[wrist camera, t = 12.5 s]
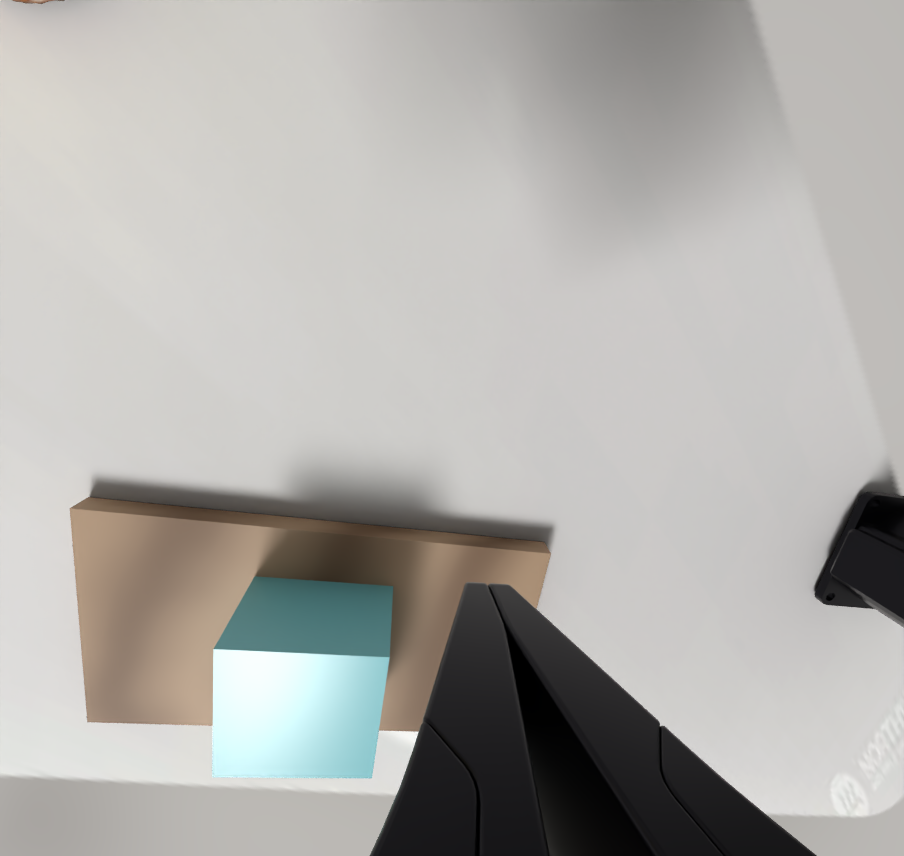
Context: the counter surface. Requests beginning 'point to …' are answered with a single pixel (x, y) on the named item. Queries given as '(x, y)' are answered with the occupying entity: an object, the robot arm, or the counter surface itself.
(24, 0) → the sauce bottle
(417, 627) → the post base
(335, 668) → the teal block
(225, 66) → the counter surface
